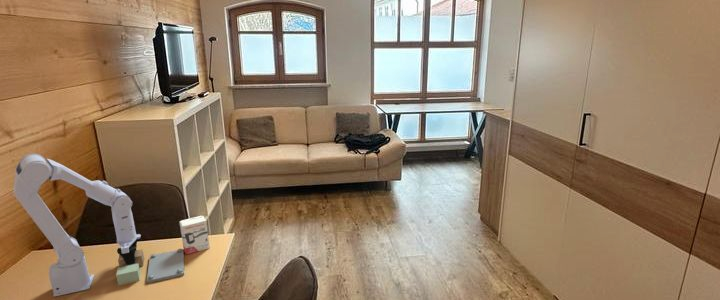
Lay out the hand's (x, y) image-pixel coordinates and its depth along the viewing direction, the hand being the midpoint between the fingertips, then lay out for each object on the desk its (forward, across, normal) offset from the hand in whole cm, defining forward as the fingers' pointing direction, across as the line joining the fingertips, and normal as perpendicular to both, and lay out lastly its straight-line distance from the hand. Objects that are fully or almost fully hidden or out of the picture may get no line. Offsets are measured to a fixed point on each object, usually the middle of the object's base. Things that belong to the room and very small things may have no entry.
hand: (131, 261), depth 137 cm
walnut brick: (+1, 0, 0) cm, 1 cm away
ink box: (+2, +2, -21) cm, 21 cm away
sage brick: (+2, -9, 0) cm, 9 cm away
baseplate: (+1, -6, -11) cm, 13 cm away
